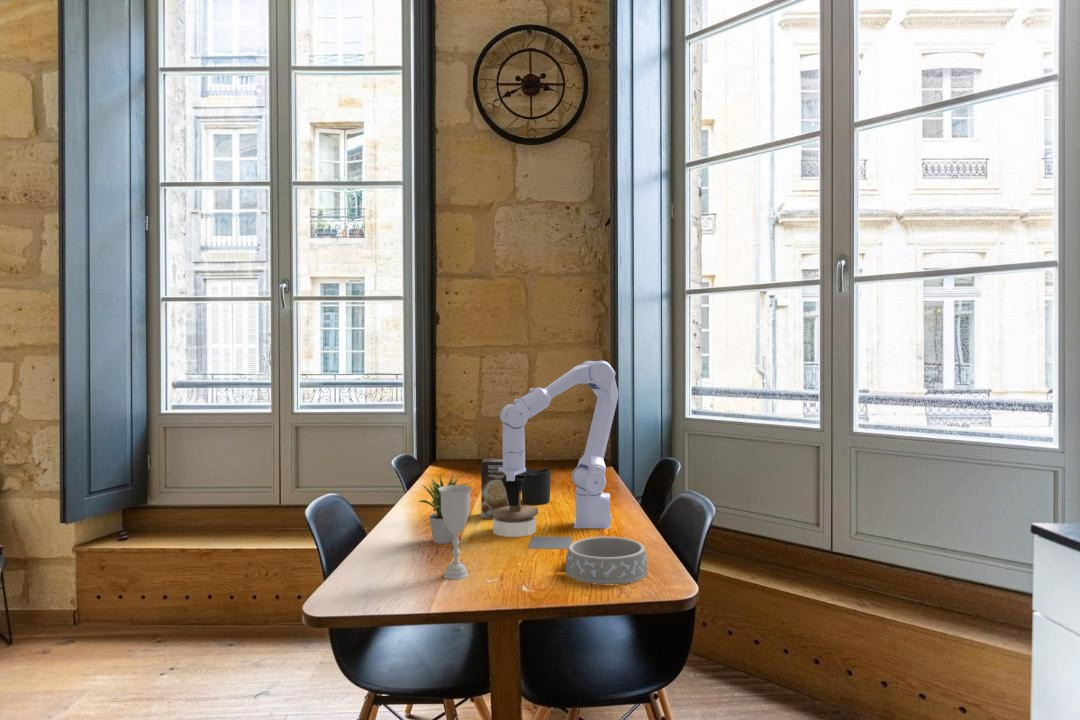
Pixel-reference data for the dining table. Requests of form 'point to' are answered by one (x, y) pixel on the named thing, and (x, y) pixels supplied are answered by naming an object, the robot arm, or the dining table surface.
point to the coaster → (550, 542)
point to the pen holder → (536, 486)
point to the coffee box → (492, 487)
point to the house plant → (439, 514)
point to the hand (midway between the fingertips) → (514, 504)
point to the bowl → (514, 526)
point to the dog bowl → (606, 560)
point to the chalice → (455, 522)
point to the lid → (515, 511)
